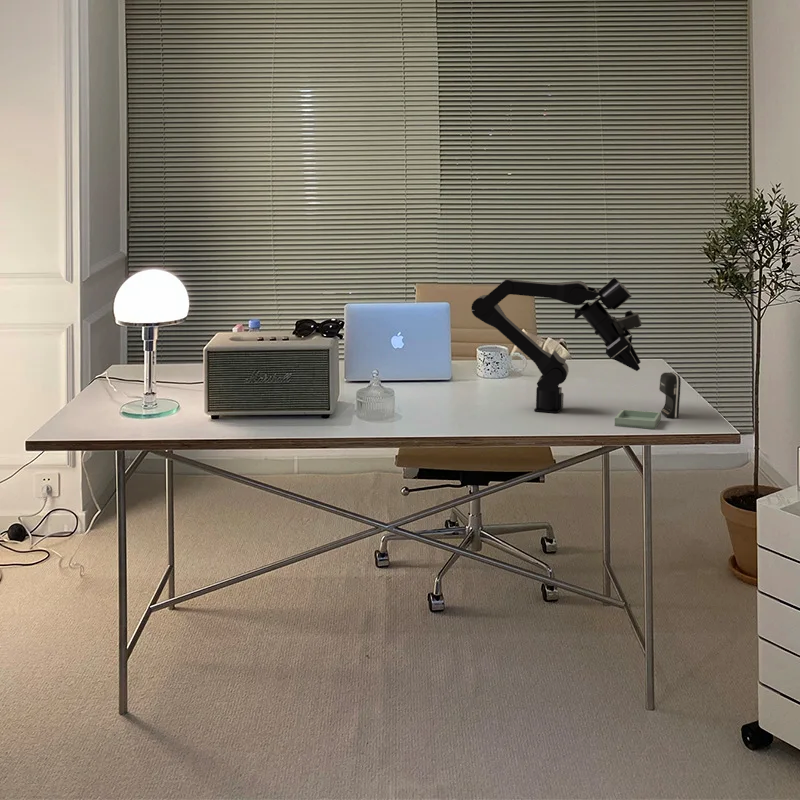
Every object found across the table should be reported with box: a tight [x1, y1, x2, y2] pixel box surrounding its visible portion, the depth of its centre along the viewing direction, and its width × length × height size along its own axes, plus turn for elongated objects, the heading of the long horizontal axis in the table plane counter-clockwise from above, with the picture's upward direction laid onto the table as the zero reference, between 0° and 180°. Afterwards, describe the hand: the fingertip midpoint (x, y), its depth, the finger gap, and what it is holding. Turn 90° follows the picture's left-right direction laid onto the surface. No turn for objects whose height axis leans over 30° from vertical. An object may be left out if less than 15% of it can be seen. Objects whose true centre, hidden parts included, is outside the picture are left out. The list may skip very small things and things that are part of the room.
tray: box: [614, 409, 662, 430], centre depth 269 cm, size 10×10×2 cm
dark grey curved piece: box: [658, 371, 682, 419], centre depth 275 cm, size 7×4×11 cm, turn 3°
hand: (638, 366), depth 275 cm, fingers open, 9 cm apart
